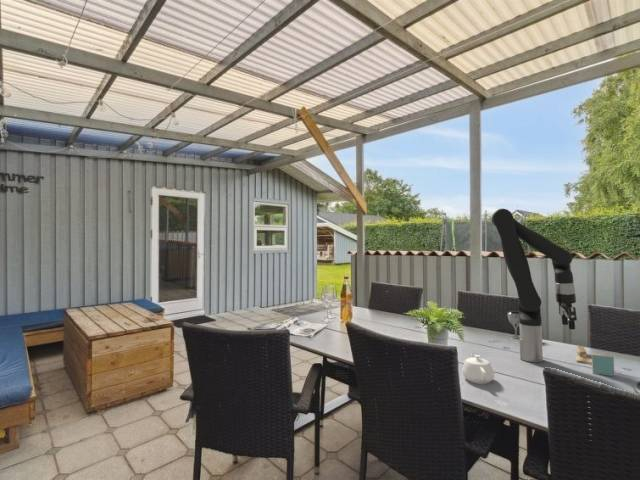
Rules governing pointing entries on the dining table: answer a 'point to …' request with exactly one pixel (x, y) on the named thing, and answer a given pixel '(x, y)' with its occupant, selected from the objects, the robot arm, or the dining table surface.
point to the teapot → (478, 370)
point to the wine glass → (514, 322)
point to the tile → (603, 364)
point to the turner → (582, 355)
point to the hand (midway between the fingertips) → (568, 326)
